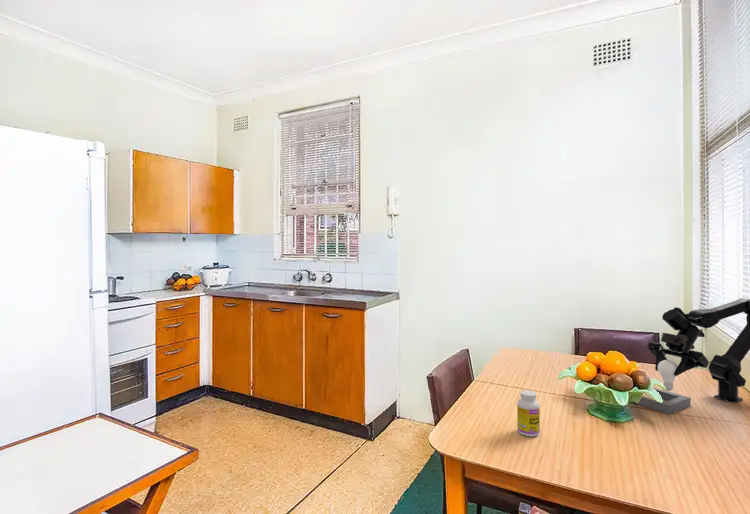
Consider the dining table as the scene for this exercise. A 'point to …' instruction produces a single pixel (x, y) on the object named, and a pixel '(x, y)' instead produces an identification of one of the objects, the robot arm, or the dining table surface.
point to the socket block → (666, 402)
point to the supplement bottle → (528, 414)
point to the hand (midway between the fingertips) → (665, 372)
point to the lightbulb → (667, 373)
